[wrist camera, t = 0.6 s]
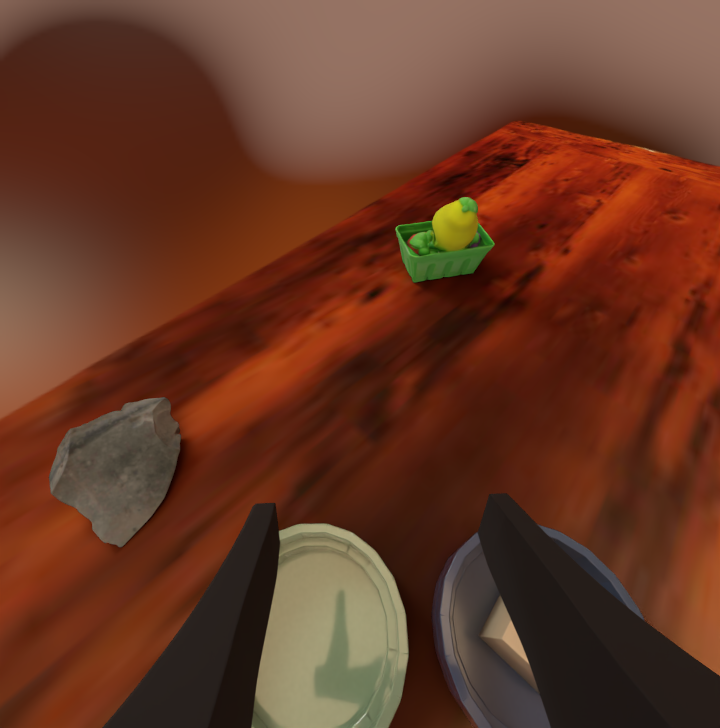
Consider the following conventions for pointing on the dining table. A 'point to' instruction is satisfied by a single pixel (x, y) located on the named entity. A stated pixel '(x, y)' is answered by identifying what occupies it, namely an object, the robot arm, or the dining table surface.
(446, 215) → the fruit basket
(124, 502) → the stone
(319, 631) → the sage bowl
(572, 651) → the robot arm
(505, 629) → the block
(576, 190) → the dining table surface
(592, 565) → the slate bowl
